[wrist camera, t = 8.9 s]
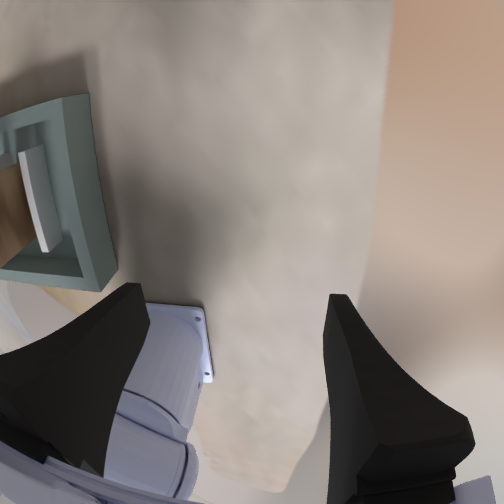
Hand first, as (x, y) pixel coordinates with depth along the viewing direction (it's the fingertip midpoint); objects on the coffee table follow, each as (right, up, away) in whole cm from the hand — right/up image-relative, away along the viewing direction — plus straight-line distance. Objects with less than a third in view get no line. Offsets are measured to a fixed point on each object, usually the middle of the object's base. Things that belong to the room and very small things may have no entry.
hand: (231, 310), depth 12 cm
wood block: (-17, +7, +9) cm, 21 cm away
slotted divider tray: (-17, +7, +10) cm, 21 cm away
